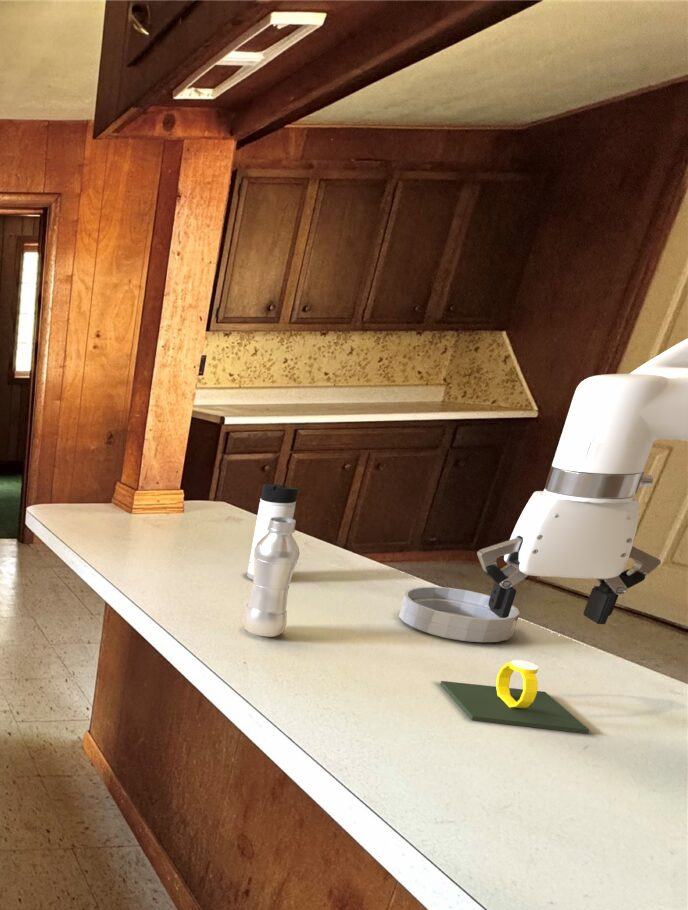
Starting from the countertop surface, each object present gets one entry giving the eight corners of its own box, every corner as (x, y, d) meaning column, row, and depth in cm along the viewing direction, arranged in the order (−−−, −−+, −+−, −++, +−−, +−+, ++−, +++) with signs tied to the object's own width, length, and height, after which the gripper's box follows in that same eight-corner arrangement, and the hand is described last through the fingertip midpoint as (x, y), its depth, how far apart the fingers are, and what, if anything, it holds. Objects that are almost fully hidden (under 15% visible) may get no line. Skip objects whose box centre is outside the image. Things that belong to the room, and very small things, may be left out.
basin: (484, 614, 118) (492, 590, 116) (529, 649, 104) (539, 623, 103) (385, 606, 122) (391, 583, 121) (416, 639, 109) (424, 614, 107)
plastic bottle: (261, 643, 109) (283, 527, 102) (231, 628, 116) (250, 517, 108) (292, 638, 111) (317, 523, 104) (261, 623, 117) (282, 513, 110)
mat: (543, 695, 92) (545, 691, 91) (587, 733, 83) (589, 729, 83) (439, 684, 95) (441, 680, 95) (471, 719, 87) (472, 716, 86)
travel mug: (238, 576, 139) (255, 482, 132) (260, 571, 142) (277, 478, 135) (265, 585, 134) (284, 488, 127) (287, 579, 137) (306, 484, 129)
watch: (485, 691, 92) (498, 653, 90) (509, 693, 91) (523, 654, 89) (509, 713, 87) (524, 673, 84) (535, 716, 86) (550, 675, 84)
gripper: (663, 479, 79) (613, 611, 85) (485, 477, 84) (450, 601, 90) (712, 492, 72) (654, 635, 78) (515, 489, 77) (475, 622, 84)
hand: (545, 617), depth 84 cm, fingers open, 9 cm apart
